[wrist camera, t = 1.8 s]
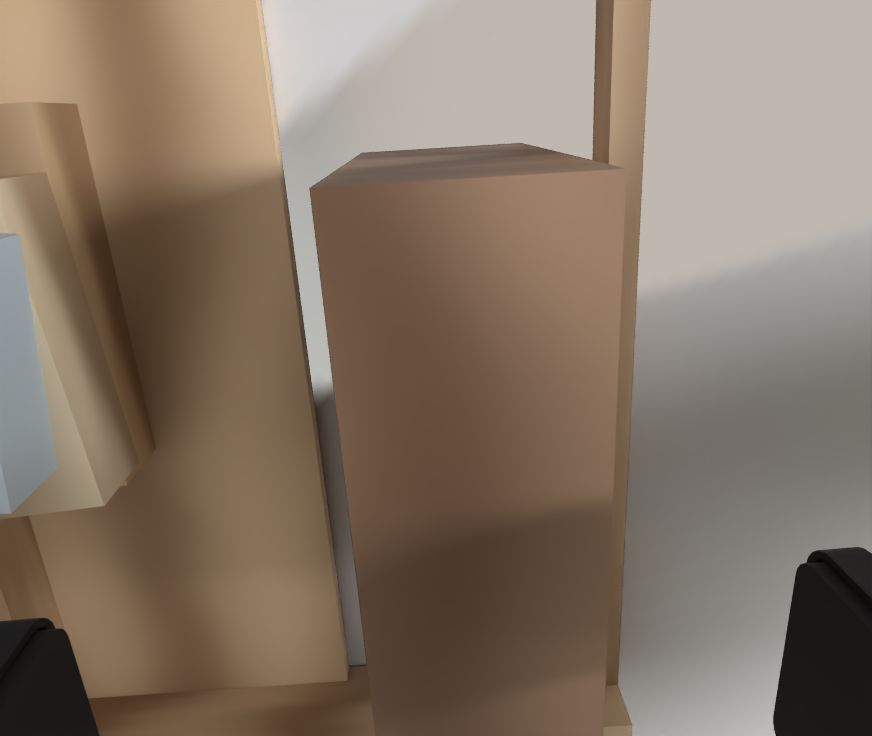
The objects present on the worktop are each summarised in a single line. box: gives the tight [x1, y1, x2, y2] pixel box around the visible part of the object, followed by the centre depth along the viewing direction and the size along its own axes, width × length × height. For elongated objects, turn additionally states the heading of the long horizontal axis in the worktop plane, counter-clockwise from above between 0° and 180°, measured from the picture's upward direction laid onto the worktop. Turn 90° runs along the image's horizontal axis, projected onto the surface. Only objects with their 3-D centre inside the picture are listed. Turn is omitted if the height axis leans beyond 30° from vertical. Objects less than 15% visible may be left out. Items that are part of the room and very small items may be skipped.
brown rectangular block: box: [310, 143, 626, 736], centre depth 15 cm, size 4×12×9 cm, turn 3°
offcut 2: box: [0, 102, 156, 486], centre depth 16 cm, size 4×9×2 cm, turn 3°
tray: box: [0, 0, 651, 736], centre depth 17 cm, size 18×22×3 cm
